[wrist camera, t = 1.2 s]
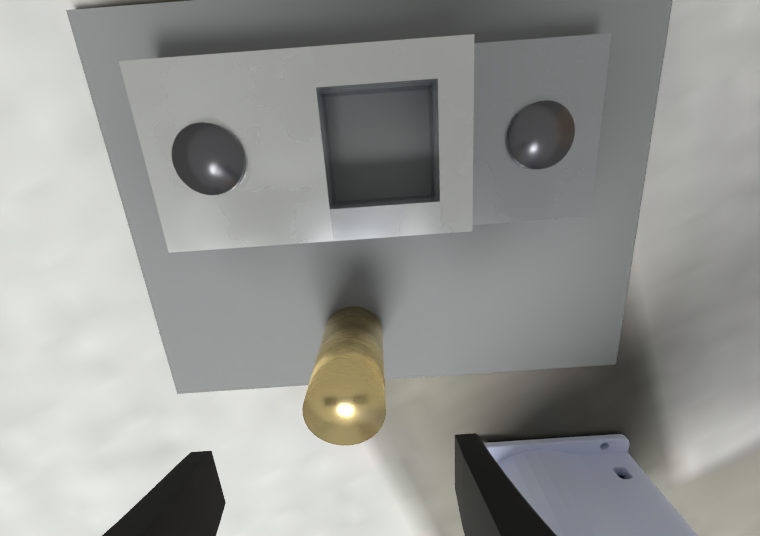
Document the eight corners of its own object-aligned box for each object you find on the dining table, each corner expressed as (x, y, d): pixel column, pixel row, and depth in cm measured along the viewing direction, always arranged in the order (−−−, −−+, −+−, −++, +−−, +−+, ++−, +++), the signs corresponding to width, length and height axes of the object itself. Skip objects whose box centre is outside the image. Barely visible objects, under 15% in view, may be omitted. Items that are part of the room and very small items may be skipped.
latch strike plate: (593, 42, 15) (639, 18, 12) (576, 212, 17) (612, 223, 14) (158, 75, 15) (112, 58, 12) (196, 239, 17) (164, 254, 14)
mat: (668, -31, 14) (678, -38, 14) (610, 359, 20) (615, 364, 19) (76, 14, 15) (66, 9, 14) (182, 388, 20) (177, 393, 20)
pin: (380, 304, 18) (383, 374, 12) (384, 355, 19) (388, 442, 13) (321, 308, 18) (297, 379, 12) (328, 359, 19) (308, 447, 13)
